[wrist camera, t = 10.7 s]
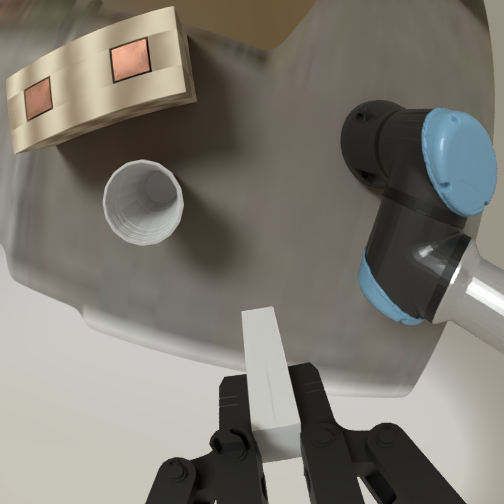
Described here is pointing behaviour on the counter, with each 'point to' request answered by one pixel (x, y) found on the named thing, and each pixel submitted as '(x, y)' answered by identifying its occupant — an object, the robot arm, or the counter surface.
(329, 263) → the counter surface
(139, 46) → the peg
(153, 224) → the plastic cup
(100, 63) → the collar block
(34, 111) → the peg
